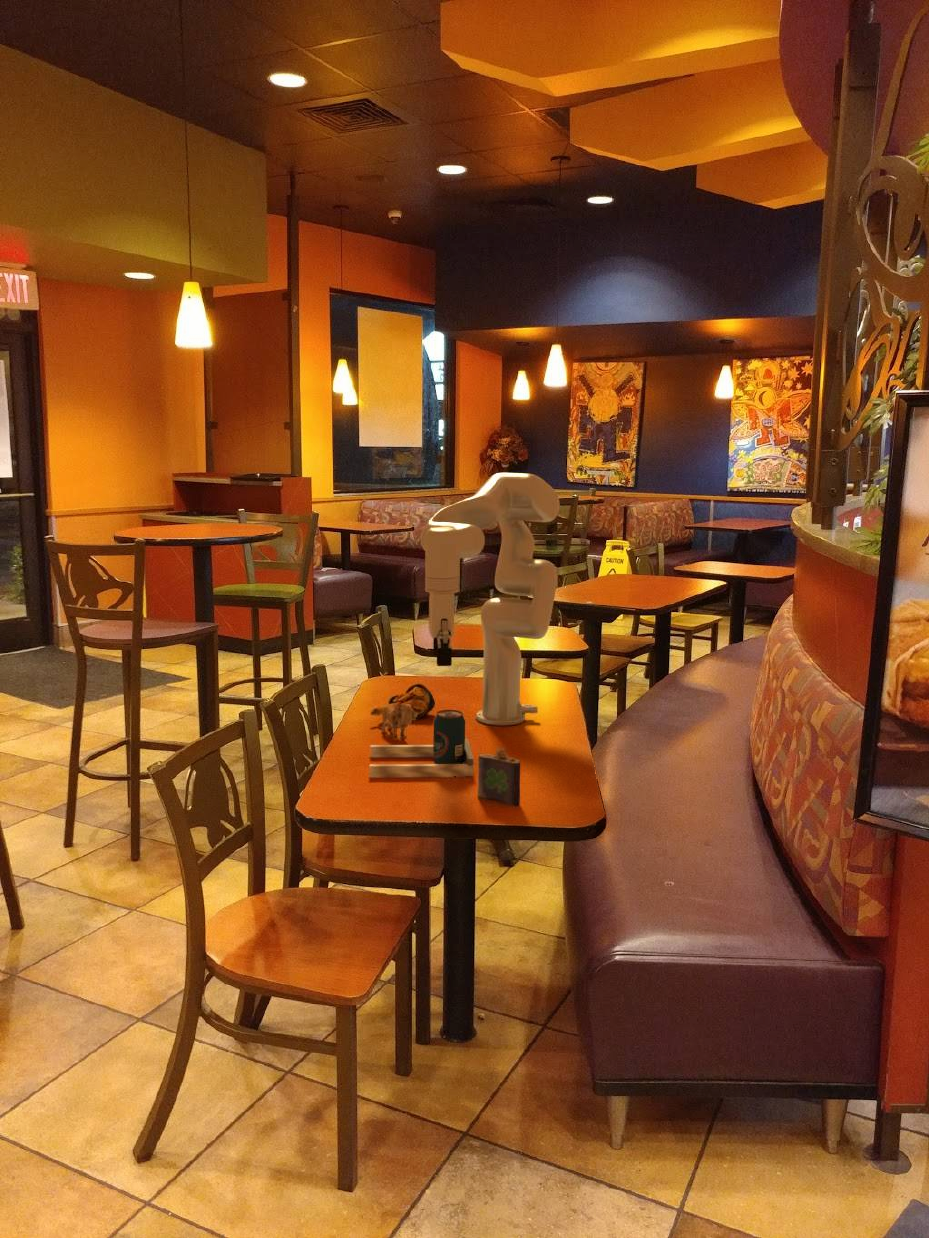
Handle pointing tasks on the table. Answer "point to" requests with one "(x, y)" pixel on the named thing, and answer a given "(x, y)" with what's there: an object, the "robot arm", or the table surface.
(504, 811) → the table surface
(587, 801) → the table surface
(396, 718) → the lion figurine
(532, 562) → the robot arm
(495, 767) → the flask
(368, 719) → the table surface
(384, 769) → the guide track
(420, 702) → the fried shrimp in bowl
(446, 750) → the soda can
